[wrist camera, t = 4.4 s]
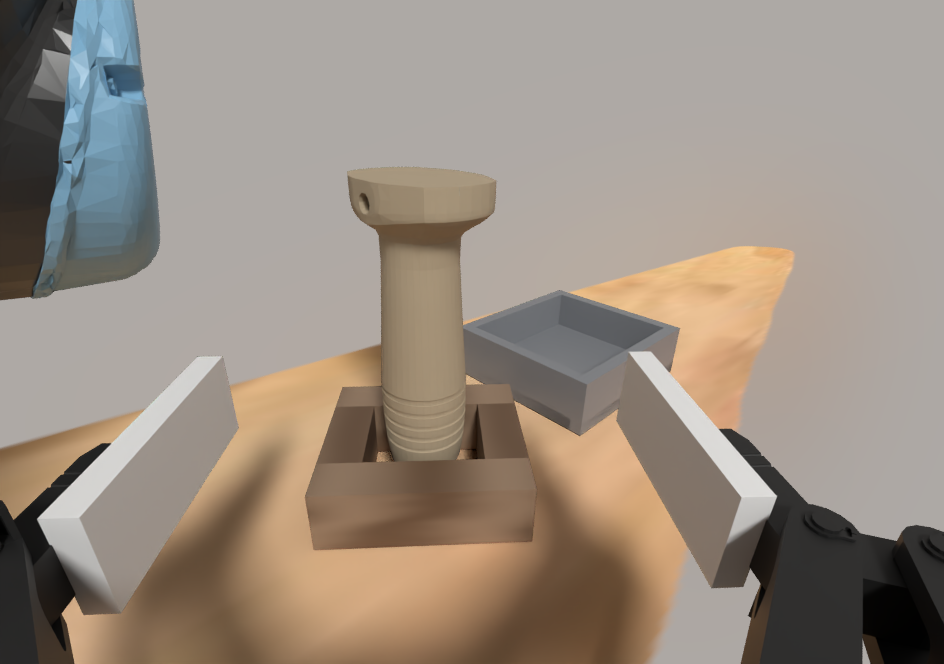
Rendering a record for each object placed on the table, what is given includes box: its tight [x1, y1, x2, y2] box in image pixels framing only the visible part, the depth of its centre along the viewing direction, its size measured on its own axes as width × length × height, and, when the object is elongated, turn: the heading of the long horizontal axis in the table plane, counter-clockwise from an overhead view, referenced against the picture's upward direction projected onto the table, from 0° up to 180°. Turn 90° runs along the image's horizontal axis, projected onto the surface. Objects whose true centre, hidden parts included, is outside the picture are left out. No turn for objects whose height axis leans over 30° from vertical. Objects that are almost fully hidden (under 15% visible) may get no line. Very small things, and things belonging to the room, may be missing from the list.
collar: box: [305, 384, 537, 550], centre depth 24 cm, size 10×8×3 cm
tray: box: [463, 290, 680, 435], centre depth 35 cm, size 12×11×4 cm
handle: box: [347, 167, 496, 462], centre depth 22 cm, size 5×6×15 cm
